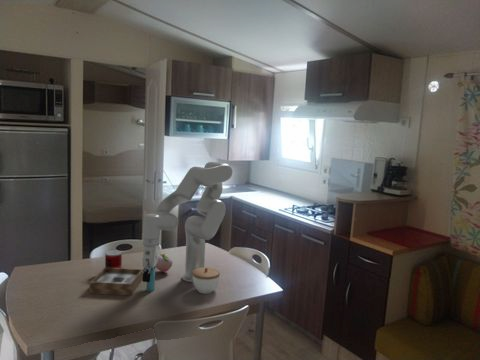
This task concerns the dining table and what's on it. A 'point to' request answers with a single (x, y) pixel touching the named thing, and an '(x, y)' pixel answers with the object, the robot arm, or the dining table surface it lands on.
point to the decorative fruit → (164, 263)
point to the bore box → (116, 281)
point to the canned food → (113, 259)
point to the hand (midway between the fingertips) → (148, 277)
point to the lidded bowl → (205, 279)
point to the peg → (151, 280)
